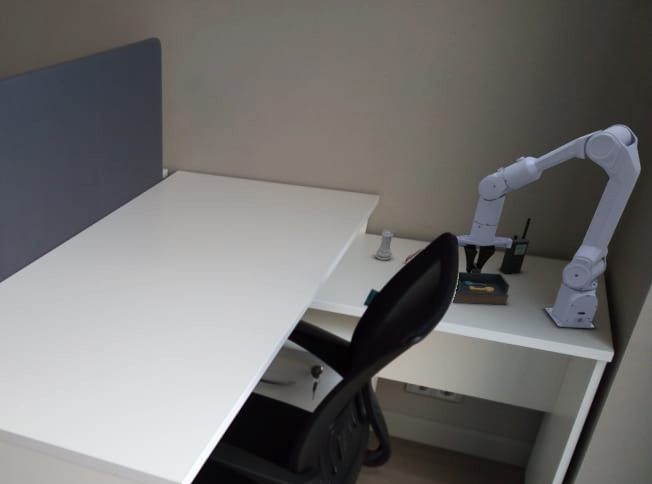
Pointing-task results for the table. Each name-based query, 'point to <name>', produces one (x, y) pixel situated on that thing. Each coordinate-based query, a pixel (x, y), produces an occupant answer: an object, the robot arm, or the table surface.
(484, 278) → the dark grey tray
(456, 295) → the stand
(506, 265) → the walkie-talkie
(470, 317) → the table surface
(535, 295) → the table surface
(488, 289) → the brass key
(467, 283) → the teal key
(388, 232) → the rook chess piece
